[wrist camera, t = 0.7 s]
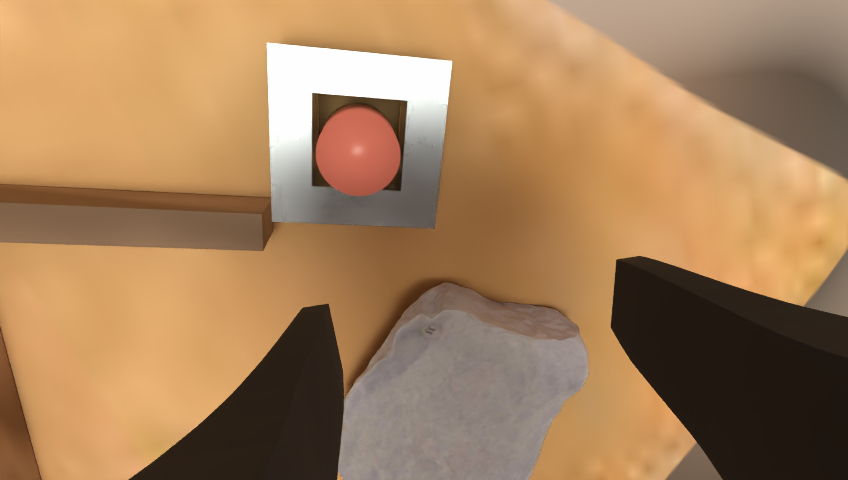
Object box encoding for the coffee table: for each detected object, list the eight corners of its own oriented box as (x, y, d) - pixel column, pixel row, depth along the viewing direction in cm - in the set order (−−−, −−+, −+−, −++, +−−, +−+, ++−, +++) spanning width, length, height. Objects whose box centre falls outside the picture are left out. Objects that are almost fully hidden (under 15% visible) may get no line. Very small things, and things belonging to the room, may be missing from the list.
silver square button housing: (424, 205, 20) (434, 228, 18) (284, 198, 20) (271, 221, 17) (438, 60, 18) (452, 60, 16) (281, 45, 17) (267, 42, 15)
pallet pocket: (280, 521, 26) (273, 560, 24) (23, 534, 24) (-8, 578, 22) (271, 197, 20) (261, 214, 17) (-85, 179, 18) (-143, 196, 15)
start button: (391, 176, 18) (397, 198, 15) (322, 172, 17) (315, 193, 15) (396, 106, 17) (403, 115, 14) (323, 100, 16) (316, 109, 14)
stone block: (332, 426, 27) (491, 484, 27) (308, 492, 22) (500, 559, 23) (404, 243, 24) (582, 312, 24) (394, 274, 19) (614, 359, 20)
